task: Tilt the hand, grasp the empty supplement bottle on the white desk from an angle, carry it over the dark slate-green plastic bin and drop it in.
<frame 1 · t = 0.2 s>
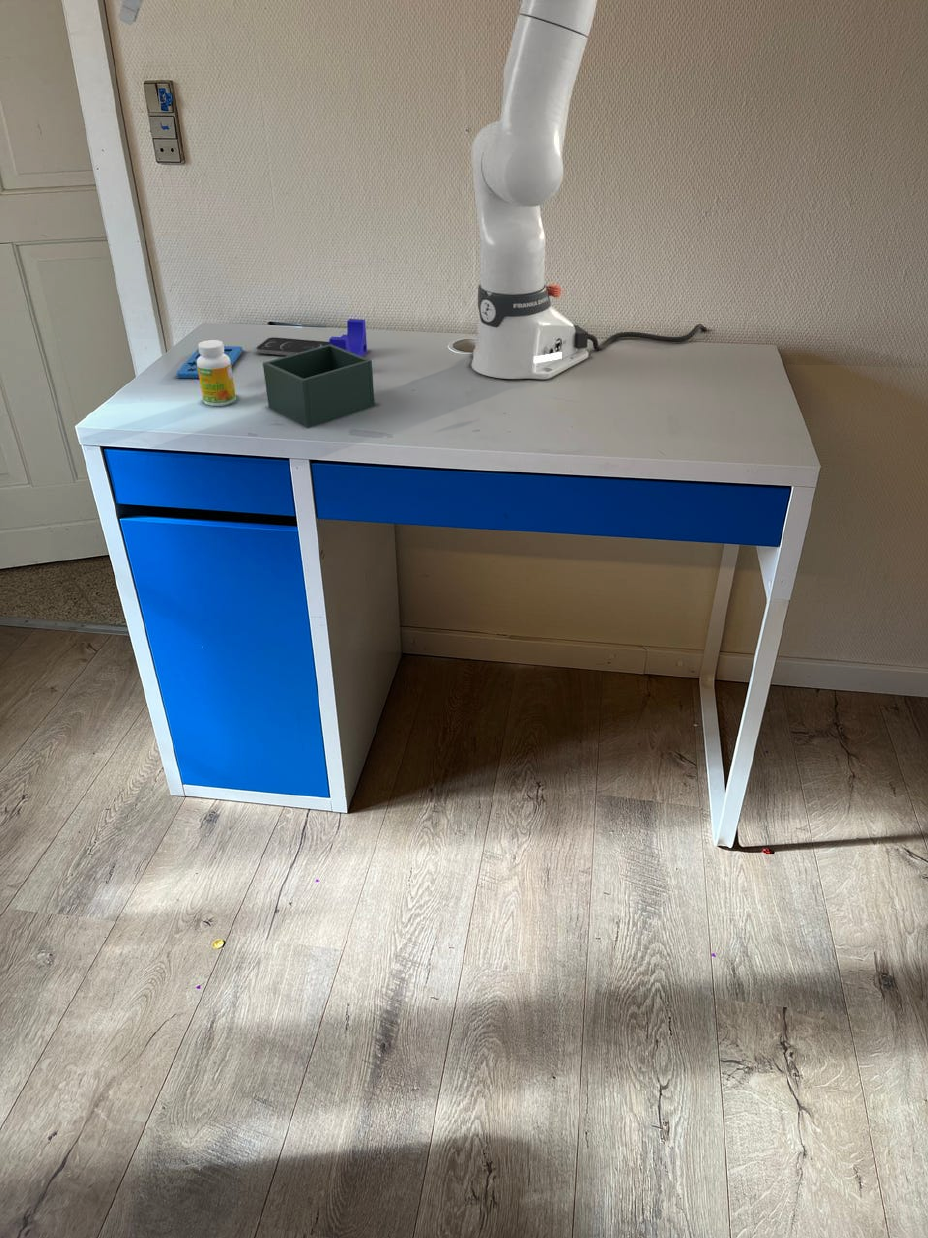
hand: (127, 20, 128), 54 cm above the table, tool tilted 30°, fingers open, 8 cm apart
handheld gaming device: (211, 364, 172), on the table
supplement bottle: (220, 401, 157), on the table
bin: (321, 406, 154), on the table
smartphone: (299, 351, 178), on the table
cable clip: (346, 362, 172), on the table
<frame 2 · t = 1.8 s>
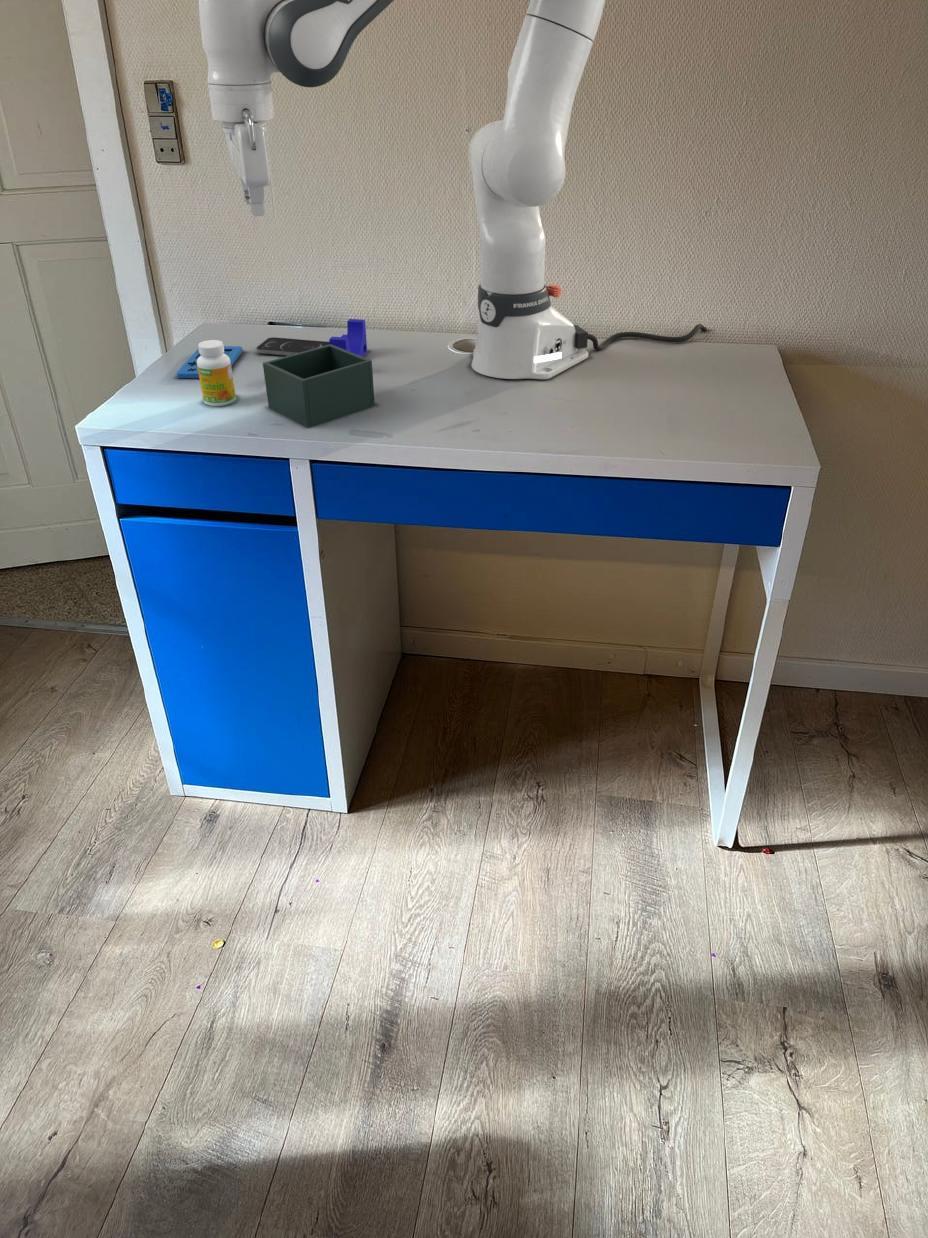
hand: (254, 208, 142), 30 cm above the table, tool pointing down, fingers open, 8 cm apart
nothing on the table moved.
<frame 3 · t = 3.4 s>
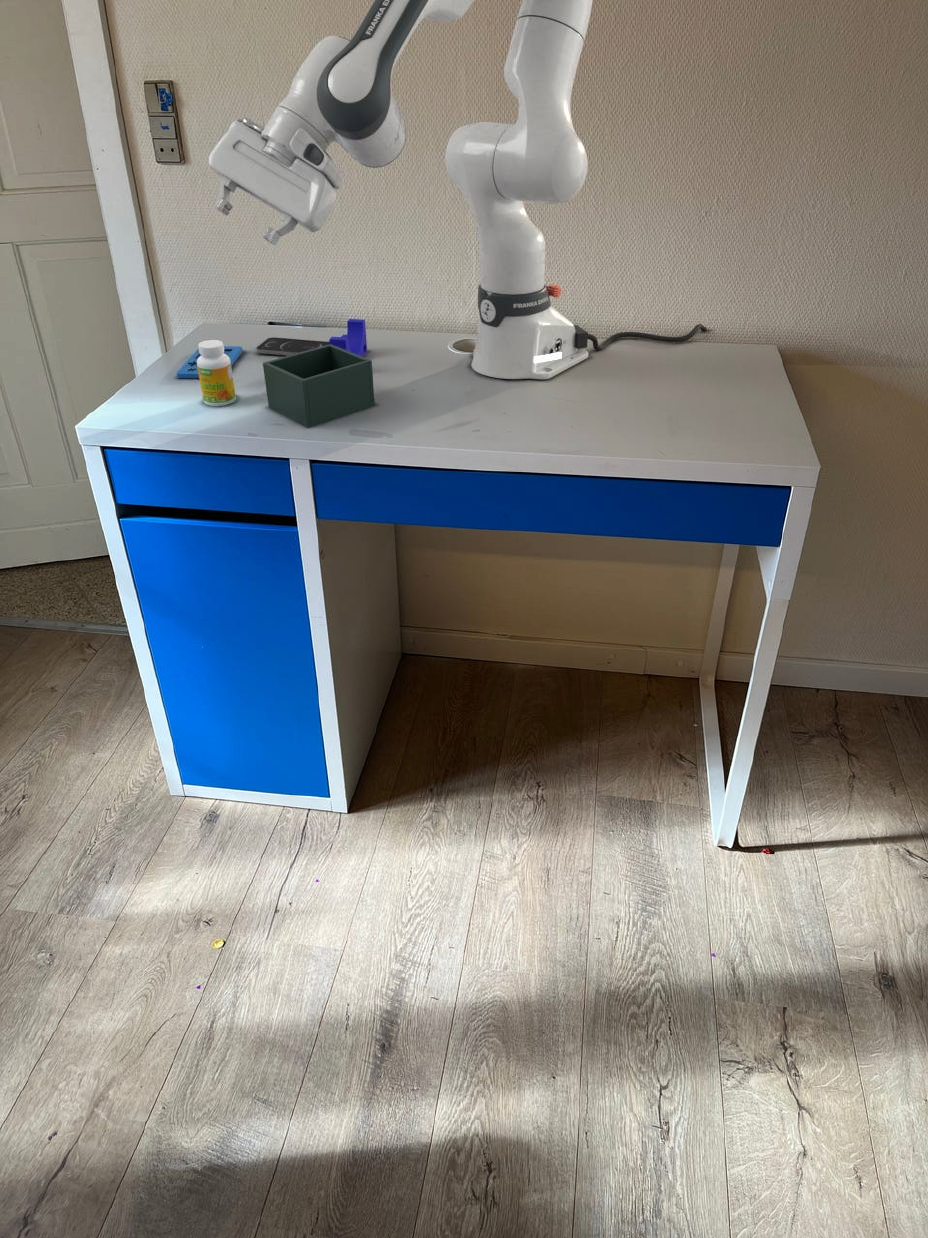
hand: (244, 226, 140), 28 cm above the table, tool tilted 40°, fingers open, 8 cm apart
nothing on the table moved.
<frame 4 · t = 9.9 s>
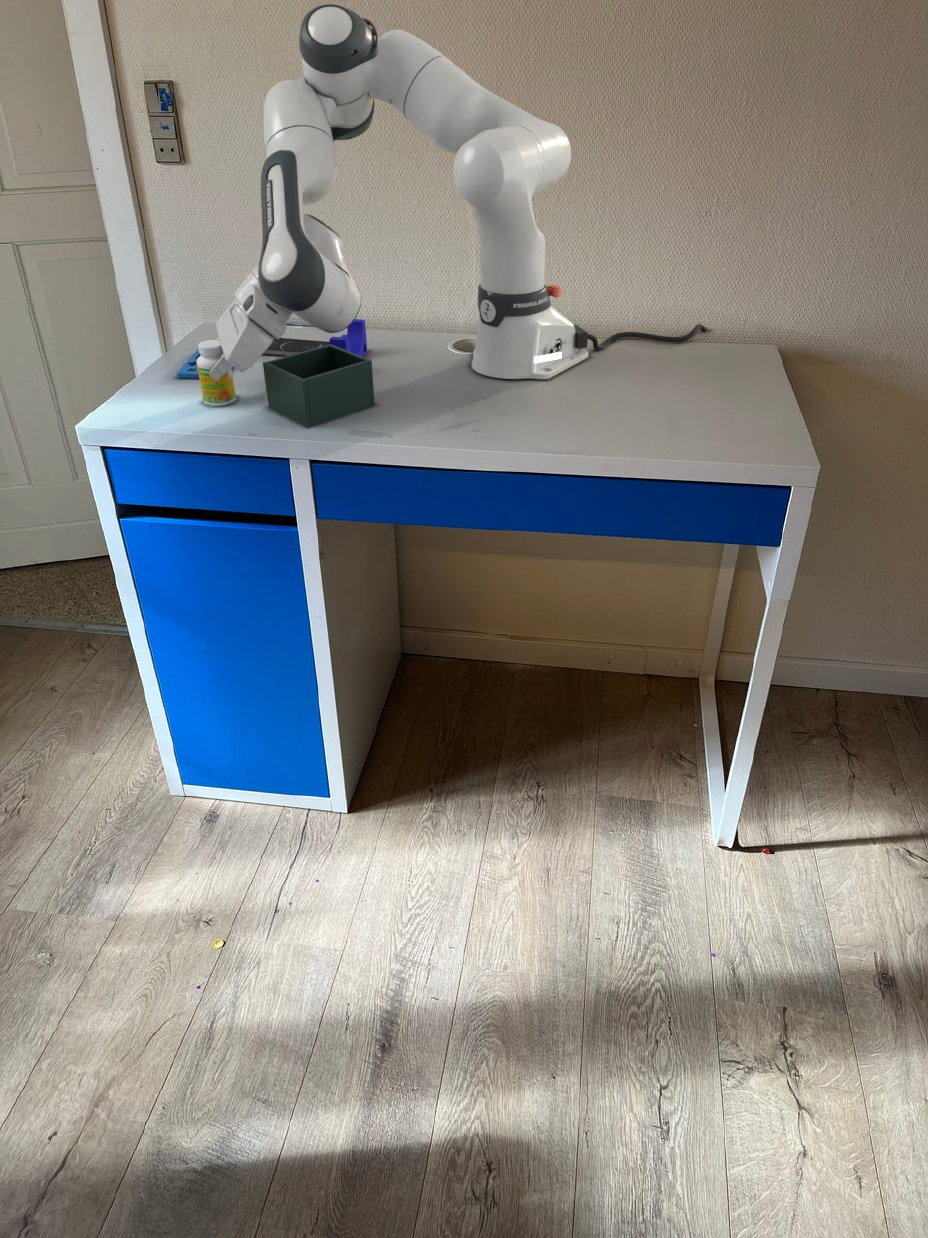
hand: (210, 370, 154), 5 cm above the table, tool tilted 45°, fingers closed on supplement bottle, 5 cm apart
supplement bottle: (220, 401, 157), on the table, touching gripper
everything else where it was.
when the fingers open (10 cm above the table, at t = 17.8 s): supplement bottle drops 4 cm, resting on bin.
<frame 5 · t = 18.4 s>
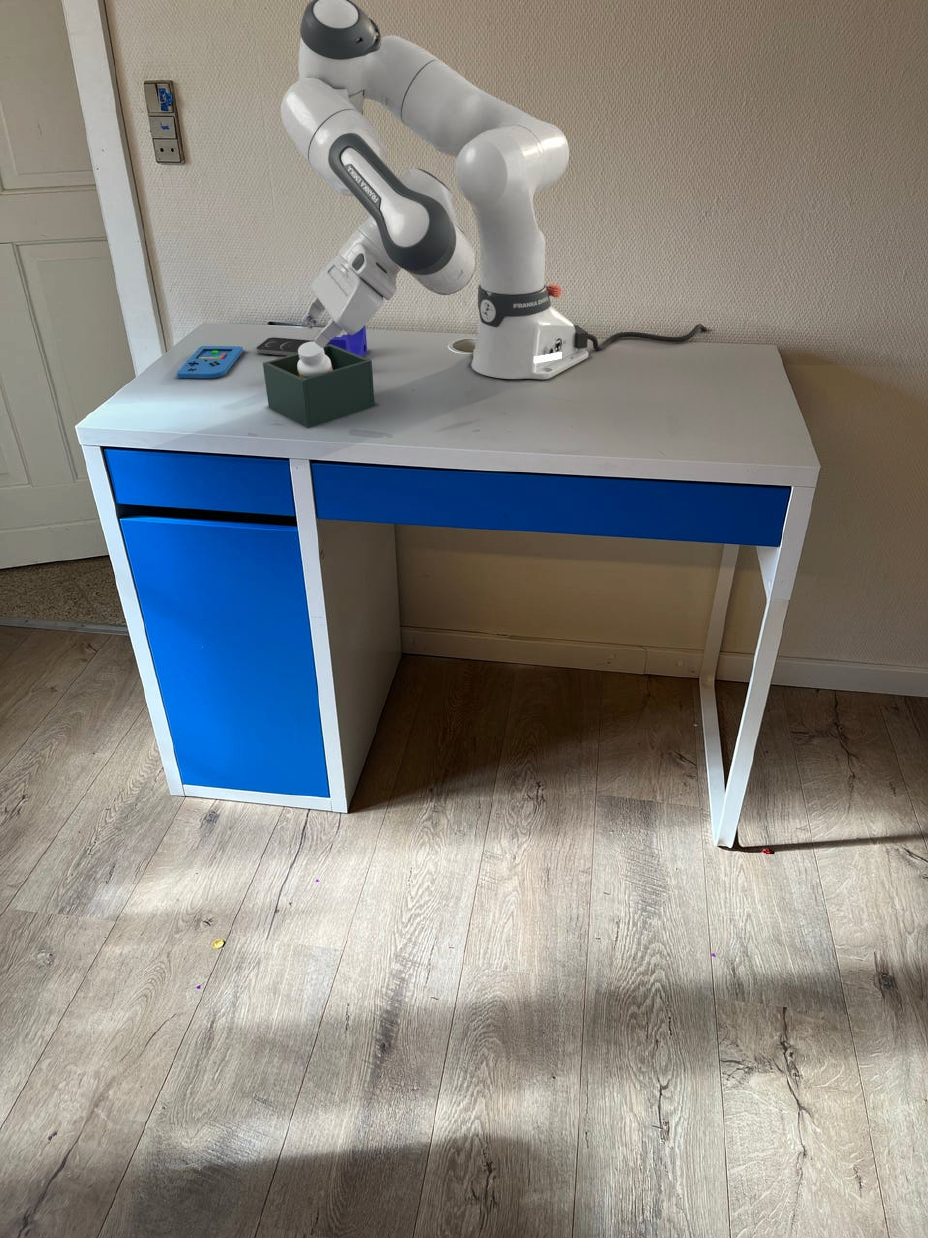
hand: (311, 334, 147), 12 cm above the table, tool tilted 45°, fingers open, 8 cm apart
supplement bottle: (322, 400, 154), point 1 cm above the table, touching bin
everything else where it was.
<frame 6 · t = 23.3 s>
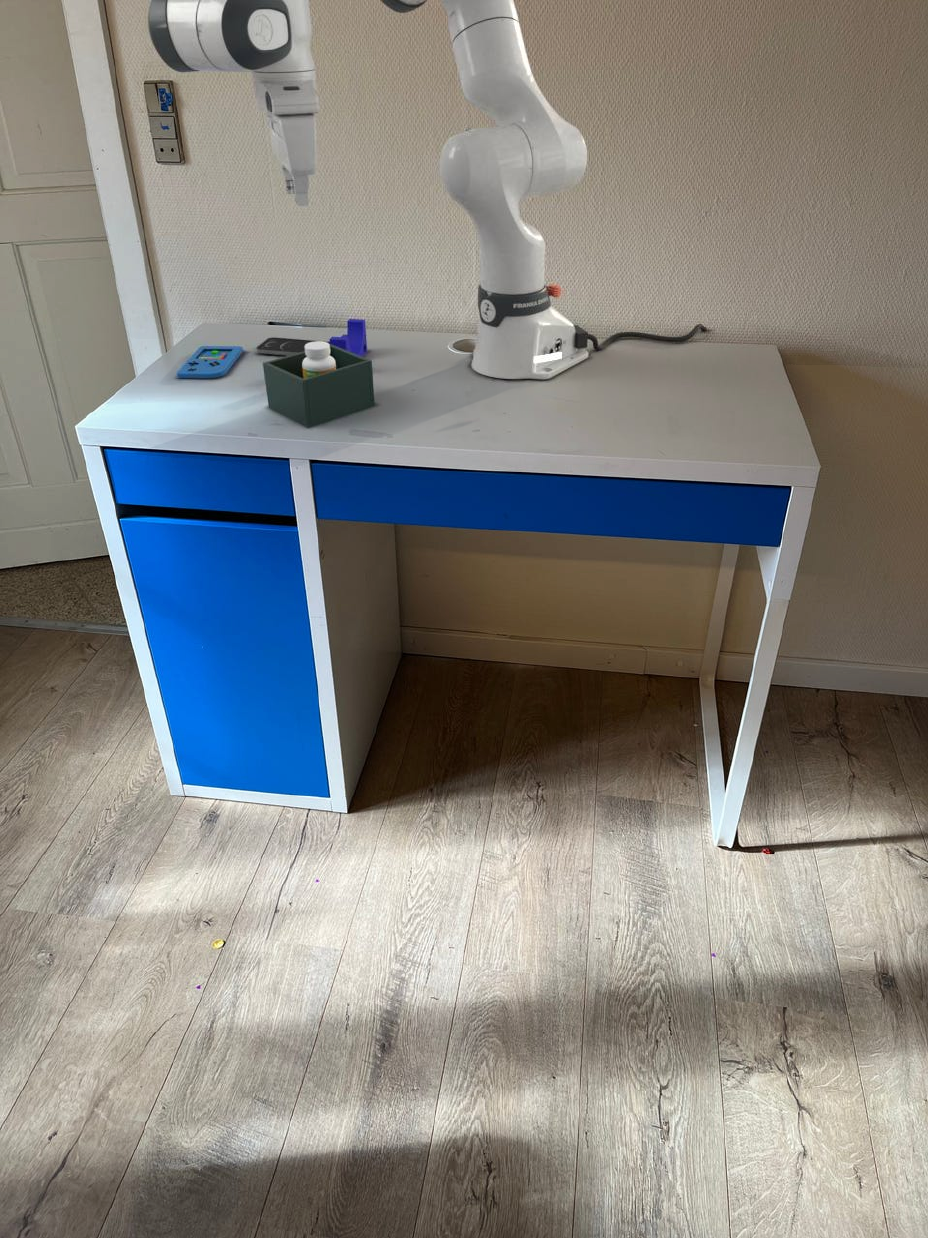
hand: (297, 198, 140), 31 cm above the table, tool pointing down, fingers open, 8 cm apart
at the end: supplement bottle inside the target area in the bin (0.3 cm from its centre), point 0.4 cm above the bin's base; the gripper is holding nothing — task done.
